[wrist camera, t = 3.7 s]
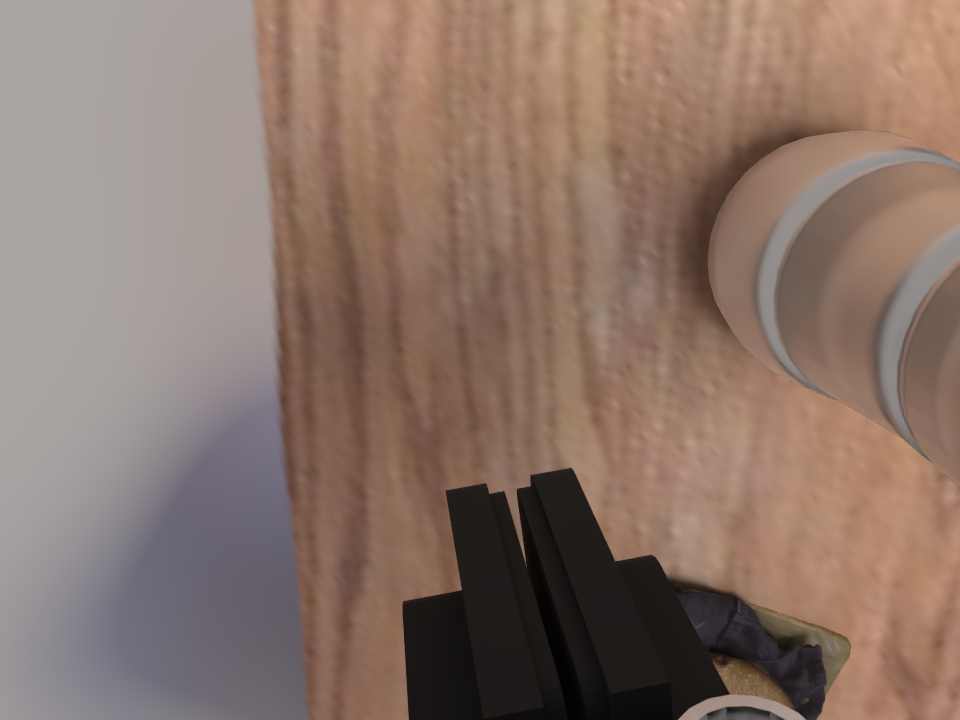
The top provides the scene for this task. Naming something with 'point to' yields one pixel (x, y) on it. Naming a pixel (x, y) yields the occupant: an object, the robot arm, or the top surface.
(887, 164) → the plastic bottle
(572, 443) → the top surface
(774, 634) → the bread roll
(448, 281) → the top surface
